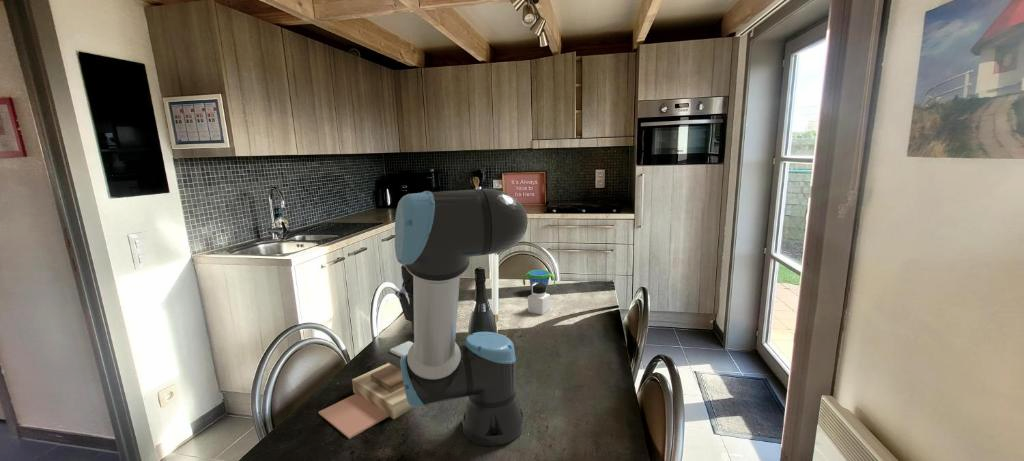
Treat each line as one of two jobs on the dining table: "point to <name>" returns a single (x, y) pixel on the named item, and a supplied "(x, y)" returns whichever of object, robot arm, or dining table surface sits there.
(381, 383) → the wooden block
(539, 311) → the medicine bottle
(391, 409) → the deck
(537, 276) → the snack cup
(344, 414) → the mat
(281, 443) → the dining table surface
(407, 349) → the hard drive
